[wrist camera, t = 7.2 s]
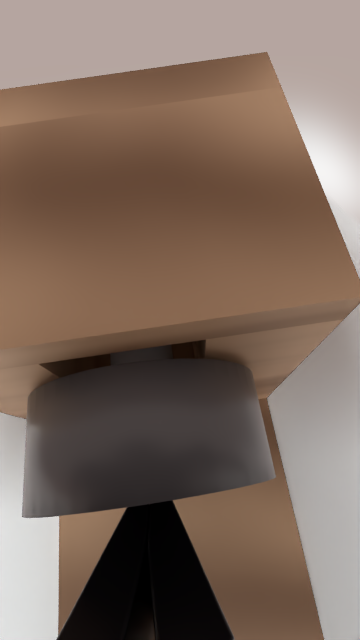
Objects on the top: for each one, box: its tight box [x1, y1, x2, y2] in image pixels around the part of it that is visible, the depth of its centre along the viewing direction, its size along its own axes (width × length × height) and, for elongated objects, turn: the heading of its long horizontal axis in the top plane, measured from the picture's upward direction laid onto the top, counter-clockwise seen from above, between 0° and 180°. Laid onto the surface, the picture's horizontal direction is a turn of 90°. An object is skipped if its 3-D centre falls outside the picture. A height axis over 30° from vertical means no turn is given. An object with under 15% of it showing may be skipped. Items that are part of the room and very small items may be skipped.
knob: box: [22, 345, 276, 518], centre depth 10 cm, size 8×6×6 cm
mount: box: [0, 52, 360, 640], centre depth 10 cm, size 16×9×10 cm, turn 8°
